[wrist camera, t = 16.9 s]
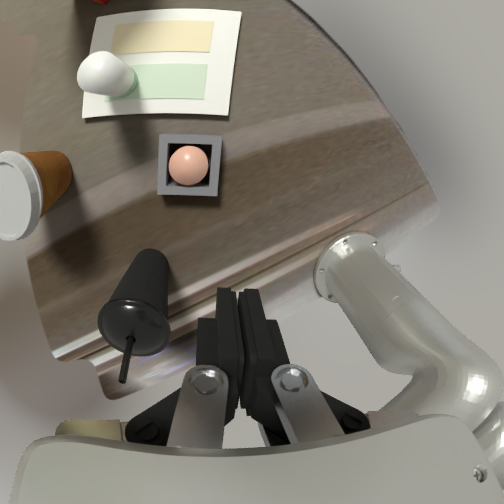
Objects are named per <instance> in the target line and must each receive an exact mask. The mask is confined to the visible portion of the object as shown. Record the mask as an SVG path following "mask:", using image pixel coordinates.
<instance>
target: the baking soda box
mask: <svg viewBox="0 0 504 504" xmlns="http://www.w3.org/2000/svg"><path fill="white" fill-rule="evenodd" d="M92 1H95V2H98V3H101V4H104V5H106V4H107V3H108V1H109V0H92Z"/></svg>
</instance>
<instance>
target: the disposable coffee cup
mask: <svg viewBox="0 0 504 504" xmlns="http://www.w3.org/2000/svg"><path fill="white" fill-rule="evenodd" d="M71 180H72V168H71V164H70V162H69V160H68V158H67V157H66V156H65V155H64V154H63V153H61V152H59V151H43V152H28V153H18V152H15V151H4V152H2V153H0V239H3V240H6V241H12V240H20V239H24V238H26V237H27V236H28V235H30V234H31V233H32V232H33V230H34V229H35V227H36V226H37V224H38V221H39V219H40V218H41V216H43V214H44V213H45V212H46V211H47V210H48V209H49V208H50V207H51V206H52V205H53V204H54V203H55V201H57V199H58V198H59V197H60V196H61V195H62V194H63V193H64V192H66V190H67V189H68V188H69V186H70V183H71Z"/></svg>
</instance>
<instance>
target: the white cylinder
mask: <svg viewBox="0 0 504 504" xmlns="http://www.w3.org/2000/svg"><path fill="white" fill-rule="evenodd" d="M77 82H78V84H79V86H80V88H81V89H82V90H84V91H86V92H89V93H94V94H99V95H105V96H110V97H114V98H123V97H126V96H128V95H129V94H131V93H132V92H133V91H134V89H135V88H136V86H137V82H138V77H137V74H136V72H135V71H134V70H133V69H132V68H131V67H129V66H128V65H127V64H125V63H124V62H123V61H121V60H120V59H119V58H117V57H116V56H114V55H113V54H112V53H110V52H107V51H99V52H95V53H93V54H91V55H89V56H88V57H87V58H86V59H85V60H84V61H83V62H82V63H81V65H80V67H79V69H78V73H77Z"/></svg>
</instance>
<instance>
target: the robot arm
mask: <svg viewBox="0 0 504 504" xmlns="http://www.w3.org/2000/svg"><path fill="white" fill-rule="evenodd" d="M400 271H401V267H400V265H391V264H390V263H389V262H388V261H387V260H386V259H385V254H384V249H383V247H382V245H381V243H380V242H379V241H378V240H377V239H376V238H375V237H374V236H372V235H371V234H369V233H366V232H359V231H356V232H350V233H347V234H344V235H342V236H340V237H338V238H336V239H335V240H334V241H332V242H331V243H330V244H329V245H328V246H327V247H326V248H325V249H324V251H323V252H322V253H321V255H320V256H319V259H318V261H317V263H316V266H315V269H314V282H315V285H316V288H317V290H318V291H319V293H320V294H321V295H322V296H323V298H325V299H326V300H328V301H331V302H335V303H339V305H340V306H341V308H342V309H343V311H344V312H345V314H346V315H347V317H348V318H349V320H350V322H351V323H352V324H353V326H354V328H355V329H356V331H357V332H358V334H359V335H360V337H361V339H362V340H363V342H364V343H365V345H366V346H367V348H368V350H369V351H370V353H371V354H372V356H373V357H374V359H375V360H376V362H377V363H378V364H379V365H380V366H381V367H382V368H384V369H385V370H387V371H389V372H392V373H396V374H403V375H412V376H413V378H412V380H411V382H410V383H409V384H408V385H407V386H406V387H405V388H404V389H403V390H402V391H401V392H400V393H399V394H398V395H397V396H396V397H394V398H393V399H392V400H391V401H390V402H388V403H387V404H386V405H385V406H384V407H382V408H381V409H380V410H379V411H368V412H367V413H366V414H364V413H362V412H361V411H359V410H358V409H355V408H353V407H351V406H349V405H347V404H345V403H343V402H341V401H339V400H337V399H335V398H333V397H332V396H330V395H328V394H326V393H324V392H322V391H320V390H319V388H318V386H317V384H316V383H315V381H314V379H313V377H312V376H311V374H310V373H309V372H308V371H307V370H306V369H304V368H303V367H301V366H298V365H294V364H290V362H289V358H288V355H287V352H286V349H285V345H284V342H283V339H282V336H281V333H280V329H279V326H278V323H277V321H276V320H266V318H265V314H264V310H263V306H262V302H261V299H260V295H259V291H258V289H244V292H239V297H238V305H237V298H236V292H233V291H231V288H220V287H217V300H216V317H215V318H198V330H197V352H196V366H195V367H193V368H191V369H190V370H189V371H187V372H186V374H185V376H184V379H183V383H182V387H181V388H179V389H178V390H177V391H175V392H173V393H172V394H170V395H169V396H167V397H166V398H164V399H162V400H161V401H160V402H158V403H156V404H155V405H153V406H152V407H150V408H148V409H147V410H145V411H144V412H142V413H141V414H139V415H137V416H135V417H134V418H132V419H131V420H130V421H129V422H120V420H72V419H71V420H65V421H63V422H61V423H60V424H59V425H58V426H57V428H56V432H55V436H47V437H43V438H40V439H37V440H35V441H33V442H32V443H31V444H30V445H29V446H28V447H27V448H26V450H25V452H24V453H23V455H22V457H21V459H20V462H19V464H18V467H17V470H16V473H15V477H14V481H13V485H12V489H11V494H10V500H9V504H504V494H503V491H502V490H504V402H498V401H499V399H500V397H501V394H502V391H503V385H504V382H503V381H504V380H503V375H502V372H501V370H500V368H499V366H498V365H497V363H496V362H495V361H494V360H493V359H492V358H491V357H490V356H489V355H488V354H487V353H486V352H485V351H483V350H482V349H481V348H479V347H478V346H477V345H476V344H474V343H473V342H472V341H471V340H470V339H468V338H467V337H466V336H465V335H463V334H462V333H461V332H460V331H459V330H458V329H457V328H455V327H454V326H453V325H452V324H451V323H450V322H449V321H448V320H447V319H446V318H445V317H444V316H443V315H442V314H441V313H440V312H439V311H438V310H437V309H436V308H435V307H434V306H433V305H432V304H431V303H430V302H429V301H428V300H427V299H426V298H425V297H424V296H423V295H422V294H421V293H420V292H419V291H418V290H417V289H416V288H415V287H414V286H413V285H412V284H411V283H410V282H409V281H407V280H406V279H405V278H404V277H403V276H402V275H401V274H400ZM239 397H240V405H241V408H243V409H244V408H245V409H246V413H247V416H251V418H253V419H254V420H256V421H257V422H258V425H259V430H260V432H261V435H262V438H263V440H264V443H265V446H266V447H258V448H237V449H222V444H223V435H224V426H225V425H226V424H228V423H229V422H230V421H231V420H232V419H233V418H234V414H235V409H237V407H238V401H239Z"/></svg>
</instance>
